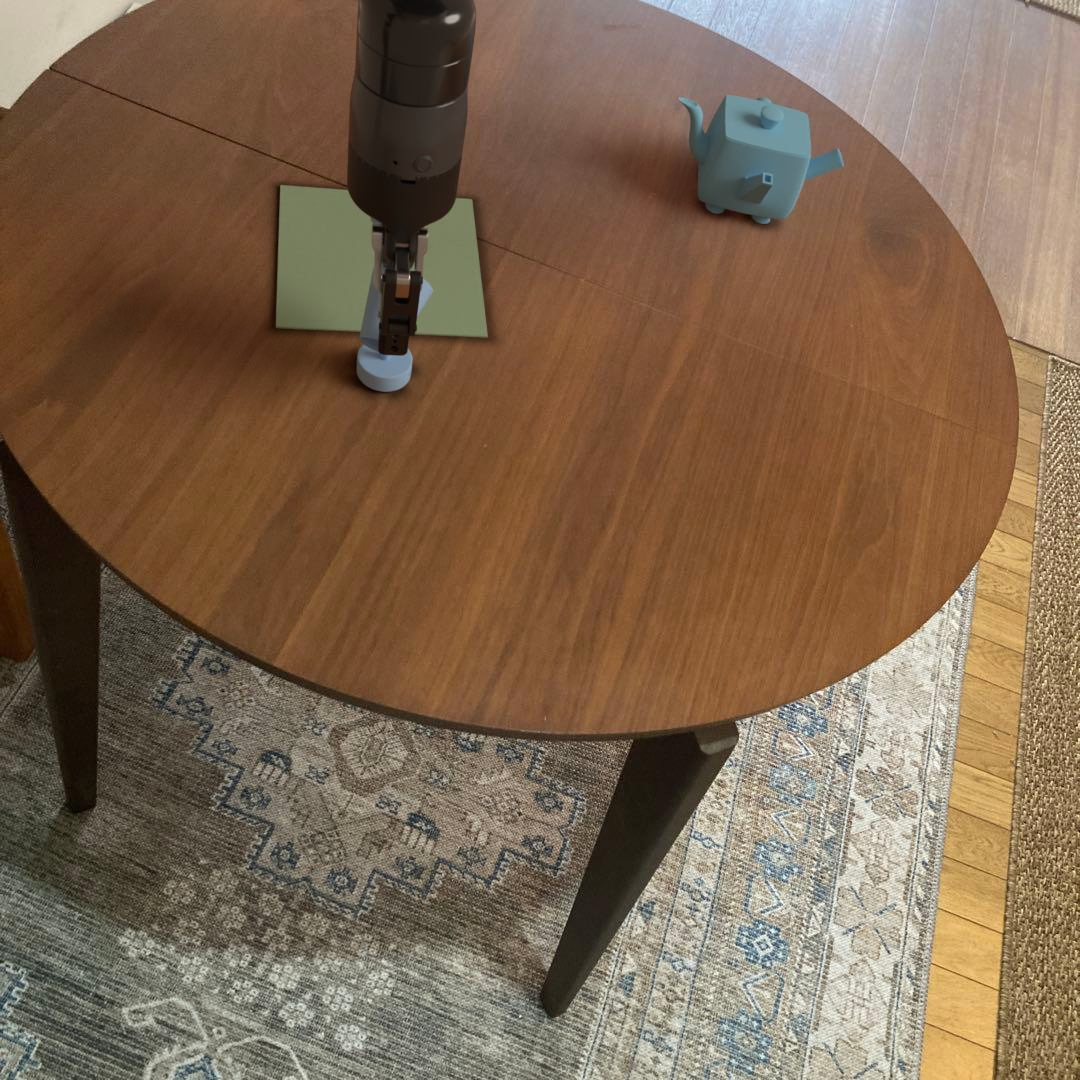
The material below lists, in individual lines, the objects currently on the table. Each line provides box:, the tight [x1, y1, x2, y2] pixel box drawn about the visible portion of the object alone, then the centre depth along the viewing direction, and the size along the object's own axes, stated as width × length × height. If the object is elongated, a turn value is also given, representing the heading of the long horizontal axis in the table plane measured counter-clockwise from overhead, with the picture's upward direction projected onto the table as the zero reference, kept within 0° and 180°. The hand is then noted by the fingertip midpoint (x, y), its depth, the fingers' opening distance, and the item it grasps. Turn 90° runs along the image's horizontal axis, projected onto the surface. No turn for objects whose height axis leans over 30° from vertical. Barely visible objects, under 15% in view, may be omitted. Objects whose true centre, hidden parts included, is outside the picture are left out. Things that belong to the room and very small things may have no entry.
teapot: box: [678, 94, 845, 225], centre depth 104 cm, size 18×14×10 cm
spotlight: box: [356, 263, 433, 393], centre depth 82 cm, size 5×10×7 cm
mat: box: [275, 184, 489, 339], centre depth 94 cm, size 18×18×1 cm
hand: (390, 315), depth 82 cm, fingers closed on spotlight, 7 cm apart
